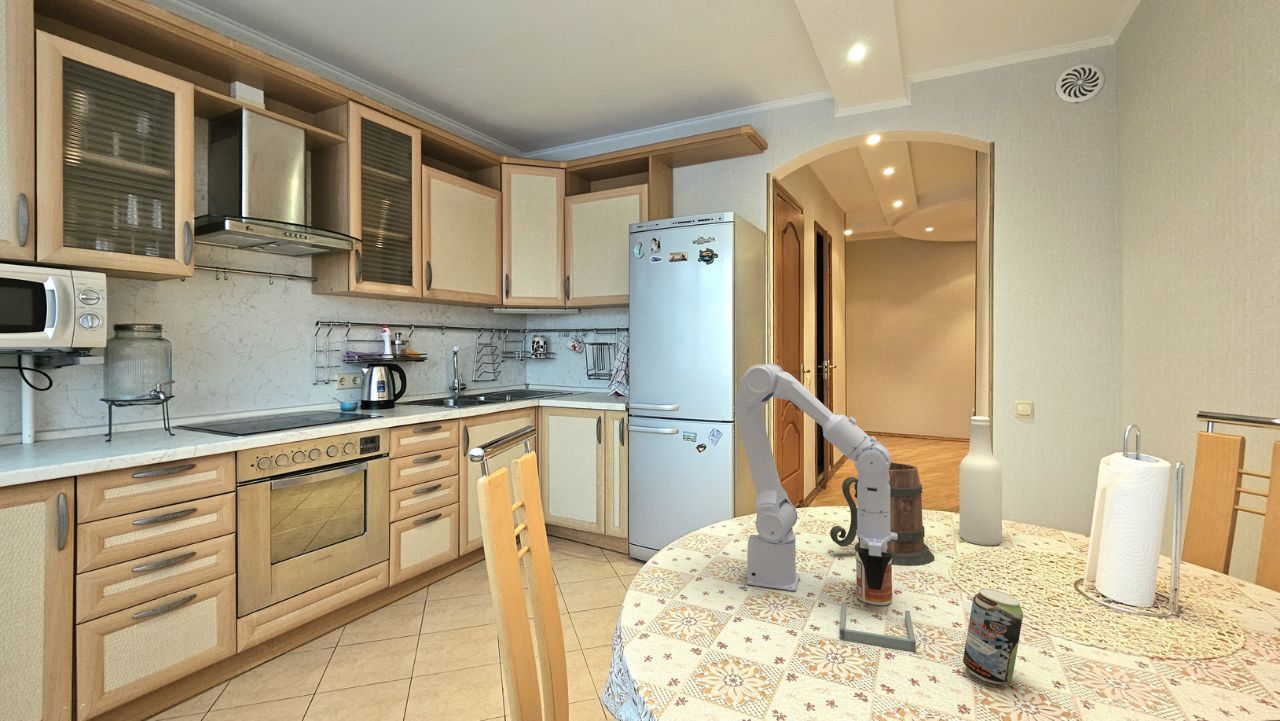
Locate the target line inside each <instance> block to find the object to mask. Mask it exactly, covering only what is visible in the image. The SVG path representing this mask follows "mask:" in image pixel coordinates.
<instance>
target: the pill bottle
mask: <svg viewBox="0 0 1280 721" xmlns="http://www.w3.org/2000/svg"><path fill="white" fill-rule="evenodd" d="M860 547H861V548H866V549H869V547H868V545H866V544H865V543H864V542H863V541H862V540H861V539H860ZM886 550H887V543H886V544H885V545H884V546H883V547H882V548H881V552H886ZM886 553H887V552H886ZM892 566H893V565H892V560H890V562H889V563H888V565H887V567H886V570H885V574H884V579H883V584H882V588H881V590H875V589H869V588H868V585H867V580H866V574H865V569H864V566H863V563H862V561H861V559H860V557H859V555H858V552H856V554H855V568H856V569H855V570H856V572H855V574H856V577H855V578H856V596H857V598H858V599H859V600H860V601H861V602H863V603H867V604H868V605H873V606H886V605H889V604H891V602H892V600H893V576H892V574H893V573H892V571H893V570H892V568H893V567H892Z"/></svg>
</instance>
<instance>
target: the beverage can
mask: <svg viewBox="0 0 1280 721" xmlns="http://www.w3.org/2000/svg"><path fill="white" fill-rule="evenodd" d="M1023 619H1024V612H1023V609H1022V606H1021V602H1020V600H1019V599H1018V598H1016V597H1014V596H1013V595H1010V594H1009V593H1007V592H1006V593H1005V592H1003V591H1000V590H996V589H993V588H987V587H986V588H985V587H983V588H979V591H978V592H977V593H976V594H974V596H973V599H972V604H971V609H970V615H969V621H968V622H969V623H968V628H967V633H966V640H965V645H964V652H963V658H962V662H963V665H965V667H966V668H967V670H968V671H969V672H970V673H971V674H972V675H974V676H975V677H977V678H978V679H980V680H982V681H984V682H988V683H990V684H995V685H1003V684H1006V683H1010V682H1012V681H1013V678H1014V671H1015V666H1016V659H1017V653H1018V648H1019V642H1020V641H1019V640H1020V636H1021V630H1022V624H1023Z"/></svg>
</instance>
